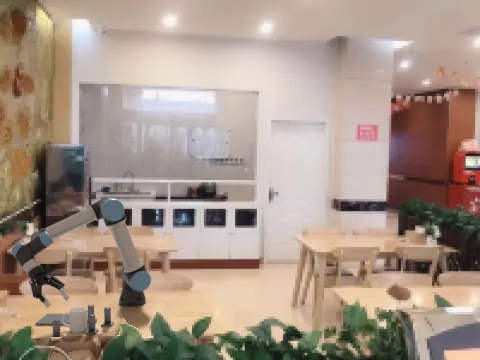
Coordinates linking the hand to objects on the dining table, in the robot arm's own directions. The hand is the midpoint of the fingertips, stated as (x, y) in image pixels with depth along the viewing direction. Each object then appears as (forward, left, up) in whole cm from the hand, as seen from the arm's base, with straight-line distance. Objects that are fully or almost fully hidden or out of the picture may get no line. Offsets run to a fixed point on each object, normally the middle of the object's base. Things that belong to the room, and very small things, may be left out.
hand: (58, 302), depth 251 cm
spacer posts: (-13, +2, -13) cm, 19 cm away
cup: (-8, +2, -13) cm, 16 cm away
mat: (+4, -13, -13) cm, 18 cm away
